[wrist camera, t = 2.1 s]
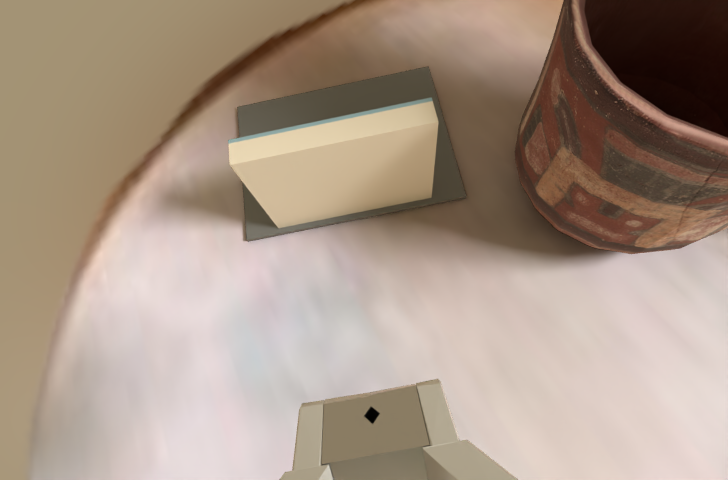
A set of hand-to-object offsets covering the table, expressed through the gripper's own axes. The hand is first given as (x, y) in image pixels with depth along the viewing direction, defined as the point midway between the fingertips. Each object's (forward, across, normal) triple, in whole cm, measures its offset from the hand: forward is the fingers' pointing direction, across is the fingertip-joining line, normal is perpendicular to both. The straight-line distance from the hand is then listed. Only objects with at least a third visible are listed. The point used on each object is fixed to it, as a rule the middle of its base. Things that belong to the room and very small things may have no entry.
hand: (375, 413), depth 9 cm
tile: (+30, 0, +5) cm, 30 cm away
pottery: (+28, -22, +7) cm, 36 cm away
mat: (+34, 0, +1) cm, 34 cm away
